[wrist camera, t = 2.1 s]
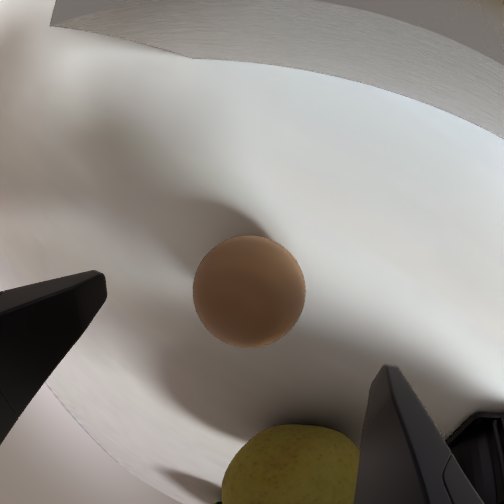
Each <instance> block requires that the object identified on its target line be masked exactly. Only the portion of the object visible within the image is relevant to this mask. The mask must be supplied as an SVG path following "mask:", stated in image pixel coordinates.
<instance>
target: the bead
mask: <svg viewBox="0 0 504 504" xmlns="http://www.w3.org/2000/svg"><path fill="white" fill-rule="evenodd" d="M305 292H306V291H305V281H304V277H303V274H302V271H301V269H300V267H299V265H298V263H297V261H296V260H295V258H294V257H293V256H292V255H291V254H290V252H289V251H288V250H286V249H285V248H284V247H283V246H281V245H280V244H278V243H276V242H274V241H272V240H270V239H267V238H264V237H260V236H252V235H249V236H239V237H234V238H231V239H228V240H226V241H224V242H222V243H220V244H218V245H217V246H216V247H214V248H213V249H212V250H211V251H210V252H209V253H208V254H207V255H206V256H205V257H204V259H203V260H202V262H201V263H200V265H199V267H198V269H197V271H196V275H195V278H194V283H193V300H194V305H195V308H196V312H197V314H198V316H199V318H200V320H201V321H202V323H203V324H204V326H205V327H206V328H207V329H208V330H209V331H210V332H211V333H212V334H213V335H214V336H215V337H217V338H218V339H220V340H222V341H224V342H226V343H228V344H230V345H234V346H238V347H246V348H253V347H260V346H264V345H268V344H270V343H273V342H275V341H277V340H278V339H280V338H282V337H283V336H284V335H285V334H286V333H288V332H289V331H290V330H291V329H292V327H293V326H294V325H295V323H296V322H297V320H298V319H299V317H300V314H301V312H302V309H303V306H304V302H305Z"/></svg>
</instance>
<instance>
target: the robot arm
mask: <svg viewBox="0 0 504 504" xmlns="http://www.w3.org/2000/svg"><path fill="white" fill-rule="evenodd" d="M106 298H107V288H106V279H105V276H104V274H103V273H101V272H98V271H96V270H92V271H87V272H83V273H78V274H74V275H69V276H65V277H61V278H56V279H52V280H48V281H43V282H39V283H35V284H31V285H26V286H22V287H18V288H14V289H10V290H5V291H4V292H3V291H1V292H0V445H1V443H2V442H3V440H4V439H5V437H6V436H7V434H8V433H9V431H10V430H11V428H12V427H13V425H14V424H15V423H16V421H17V420H18V417H20V415H21V414H22V412H23V411H24V409H25V408H26V407H27V405H28V404H29V403H30V401H31V400H32V398H33V397H34V396H35V394H36V393H37V392H38V390H39V389H40V388H41V386H42V385H43V384H44V382H45V381H46V380H47V378H48V377H49V376H50V374H51V373H52V372H53V371H54V369H55V368H56V367H57V365H58V364H59V363H60V362H61V360H62V359H63V358H64V357H65V355H66V354H67V353H68V352H69V350H70V349H71V348H72V347H73V345H74V344H75V343H76V342H77V340H78V339H79V338H80V337H81V335H82V334H83V333H84V331H85V330H86V329H87V327H88V326H89V324H90V323H91V321H92V320H93V318H94V317H95V315H96V314H97V312H98V311H99V309H100V308H101V306H102V305H103V304H104V302H105V301H106ZM353 504H504V413H490V412H478V413H475V414H473V415H472V416H471V417H470V418H469V419H468V420H467V421H466V422H465V423H464V424H463V425H462V426H461V427H460V428H459V429H458V430H457V431H456V432H455V433H454V434H453V435H452V436H451V437H450V438H449V439H448V440H447V441H446V442H445V441H444V439H443V437H442V436H441V434H440V432H439V431H438V429H437V427H436V426H435V424H434V423H433V421H432V419H431V418H430V416H429V415H428V413H427V411H426V410H425V408H424V407H423V405H422V403H421V402H420V400H419V399H418V397H417V396H416V394H415V392H414V391H413V389H412V388H411V386H410V385H409V383H408V382H407V380H406V379H405V377H404V376H403V374H402V373H401V371H400V370H399V368H398V367H397V366H393V365H389V364H385V365H383V366H382V368H381V369H380V371H379V373H378V374H377V376H376V377H375V379H374V381H373V382H372V384H371V387H370V392H369V398H368V404H367V409H366V415H365V420H364V425H363V430H362V437H361V447H360V457H359V466H358V474H357V481H356V488H355V495H354V502H353Z"/></svg>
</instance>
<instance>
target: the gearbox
mask: <svg viewBox="0 0 504 504" xmlns="http://www.w3.org/2000/svg"><path fill="white" fill-rule="evenodd" d="M50 26H52V27H61V28H68V29H75V30H81V31H87V32H93V33H98V34H103V35H108V36H113V37H118V38H122V39H126V40H131V41H135V42H139V43H143V44H146V45H150V46H154V47H157V48H161V49H164V50H168V51H171V52H174V53H178V54H181V55H184V56H187V57H190V58H193V59H216V60H231V61H243V62H253V63H262V64H269V65H277V66H284V67H290V68H296V69H302V70H307V71H313V72H318V73H323V74H327V75H332V76H336V77H341V78H345V79H349V80H353V81H357V82H361V83H364V84H368V85H372V86H375V87H378V88H382V89H385V90H388V91H392V92H395V93H398V94H401V95H404V96H407V97H410V98H413V99H415V100H418V101H421V102H424V103H426V104H429V105H431V106H434V107H437V108H439V109H442V110H444V111H446V112H449V113H451V114H454V115H456V116H458V117H460V118H463V119H465V120H467V121H469V122H471V123H474V124H476V125H478V126H480V127H482V128H484V129H486V130H488V131H490V132H492V133H494V134H496V135H498V136H499V137H501V138H503V139H504V0H56V2H55V6H54V10H53V14H52V18H51V22H50Z"/></svg>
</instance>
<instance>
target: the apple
mask: <svg viewBox="0 0 504 504" xmlns="http://www.w3.org/2000/svg"><path fill="white" fill-rule="evenodd" d="M359 457H360V451H359V449H358V447H357V446H356V445H355V444H354V442H353V441H352V440H351V439H349V438H348V437H347V436H346V435H344V434H342V433H340V432H338V431H336V430H333V429H330V428H326V427H321V426H313V425H299V424H286V425H279V426H274V427H270V428H268V429H266V430H264V431H262V432H259V433H258V434H257V435H256V436H254V437H253V438H252V439H251V440H249V441H248V442H247V443H246V444H245V445H244V446H243V447H242V448H241V449H240V450H239V452H238V453H237V454H236V455H235V457H234V458H233V460H232V461H231V463H230V464H229V466H228V468H227V470H226V472H225V475H224V478H223V481H222V492H221V493H222V503H223V504H353V502H354V495H355V488H356V481H357V474H358V466H359Z"/></svg>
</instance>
